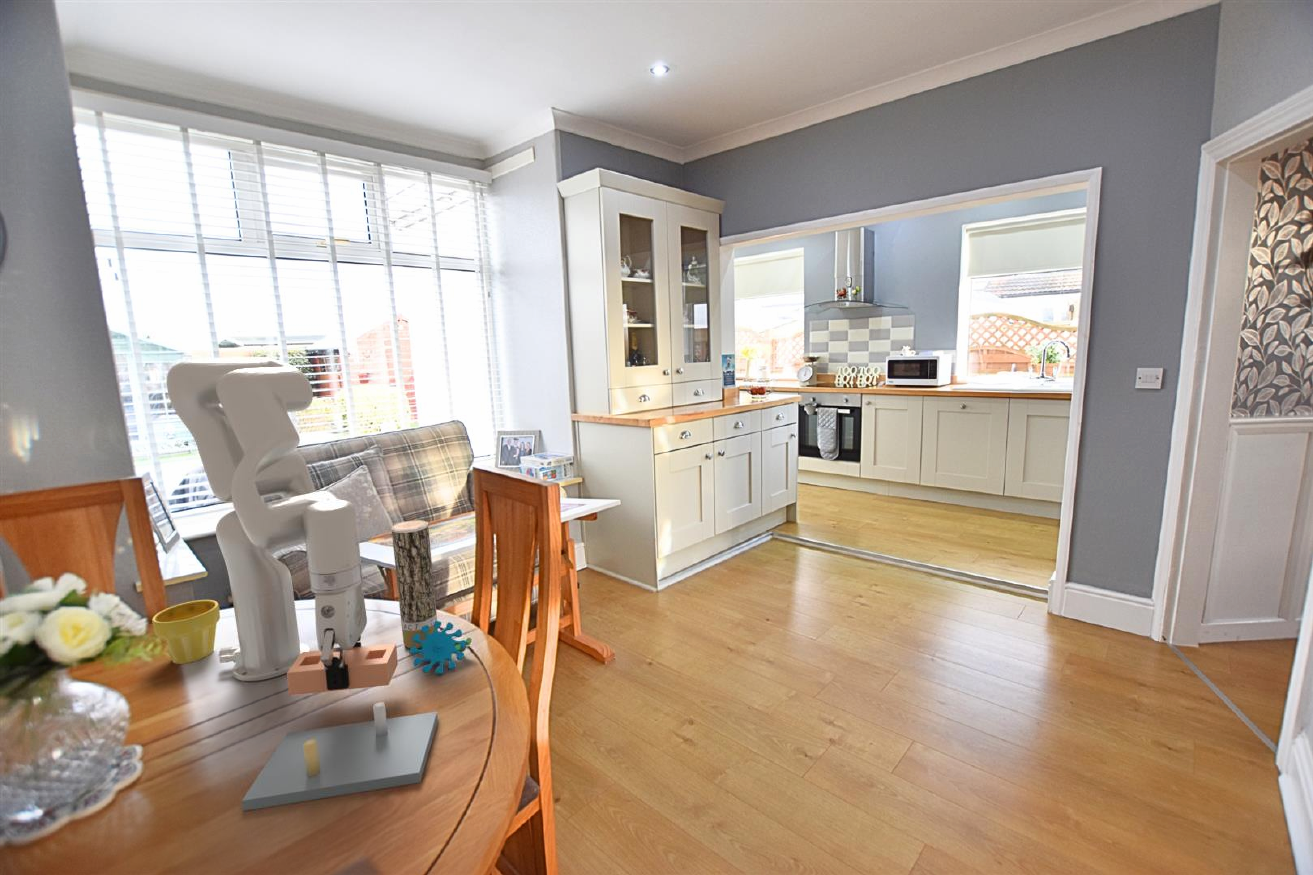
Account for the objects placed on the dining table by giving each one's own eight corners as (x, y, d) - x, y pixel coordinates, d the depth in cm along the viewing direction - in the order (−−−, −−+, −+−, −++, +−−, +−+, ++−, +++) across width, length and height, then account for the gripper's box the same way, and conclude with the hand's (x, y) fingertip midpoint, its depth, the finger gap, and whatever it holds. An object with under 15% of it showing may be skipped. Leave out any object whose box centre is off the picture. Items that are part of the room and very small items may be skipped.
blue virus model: (410, 675, 104) (410, 622, 110) (407, 686, 108) (407, 634, 114) (474, 667, 109) (470, 616, 115) (469, 677, 113) (466, 628, 119)
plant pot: (190, 671, 111) (182, 623, 110) (145, 667, 113) (137, 620, 112) (237, 644, 121) (231, 600, 120) (196, 641, 123) (189, 598, 122)
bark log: (426, 631, 124) (415, 518, 121) (445, 639, 120) (434, 523, 117) (397, 644, 119) (384, 527, 115) (415, 653, 115) (403, 532, 111)
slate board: (243, 810, 76) (236, 769, 75) (288, 741, 89) (283, 705, 89) (420, 782, 80) (416, 742, 79) (437, 720, 94) (434, 685, 93)
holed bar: (289, 695, 93) (286, 672, 93) (305, 673, 100) (302, 651, 99) (388, 685, 96) (386, 663, 96) (397, 664, 102) (396, 643, 102)
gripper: (343, 596, 87) (353, 704, 90) (375, 555, 104) (383, 647, 107) (288, 601, 86) (300, 710, 89) (329, 558, 102) (339, 651, 106)
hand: (345, 675), depth 98 cm, fingers closed on holed bar, 6 cm apart
